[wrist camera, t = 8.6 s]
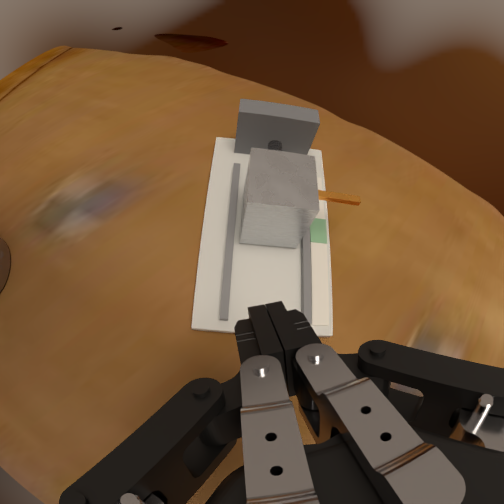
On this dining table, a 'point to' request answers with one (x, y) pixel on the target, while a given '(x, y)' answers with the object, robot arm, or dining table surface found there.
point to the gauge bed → (260, 256)
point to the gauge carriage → (282, 197)
